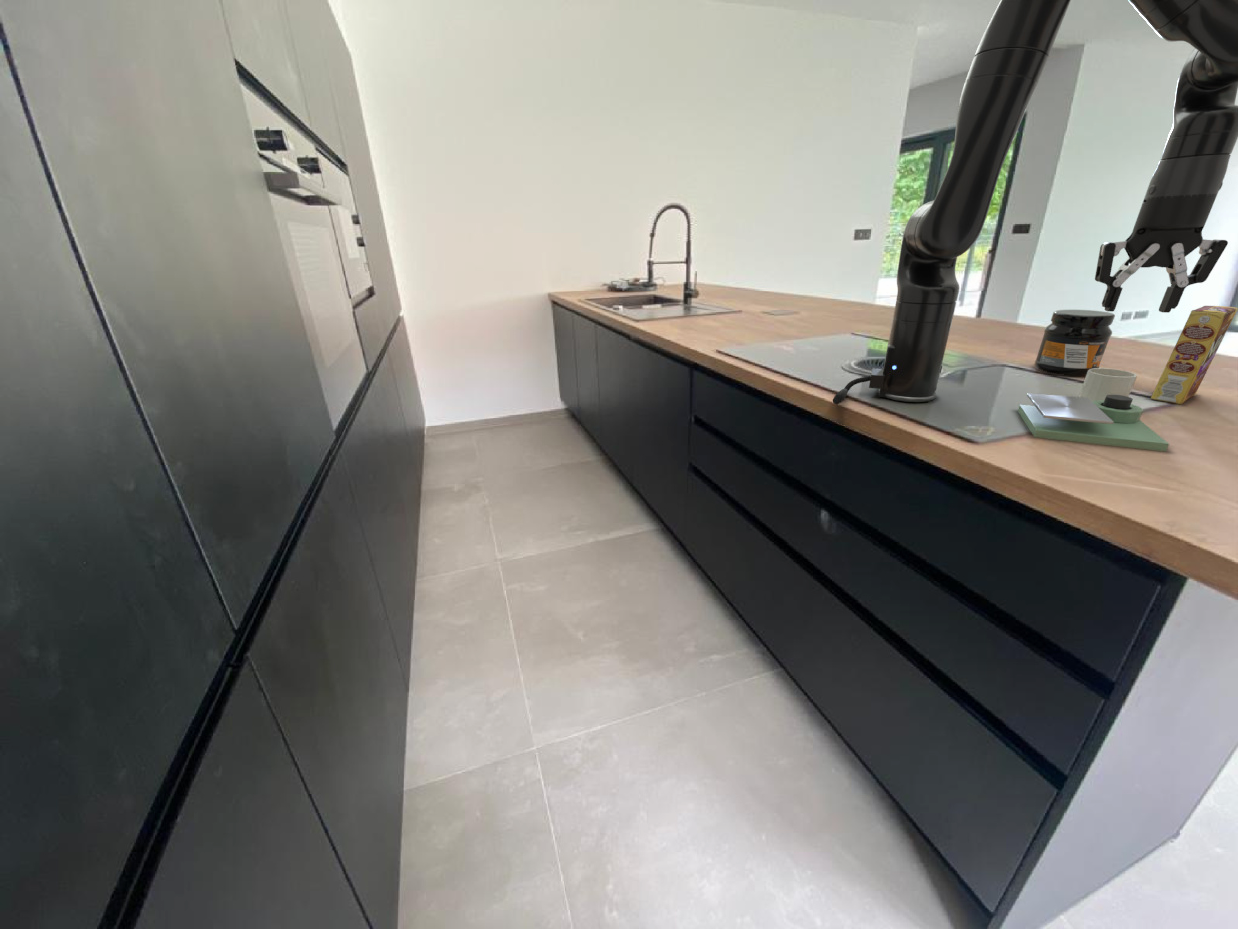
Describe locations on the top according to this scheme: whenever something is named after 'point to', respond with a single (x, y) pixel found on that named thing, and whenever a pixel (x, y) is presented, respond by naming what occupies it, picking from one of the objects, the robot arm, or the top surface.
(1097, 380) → the white cup
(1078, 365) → the supplement container
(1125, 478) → the top surface
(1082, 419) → the scale pan
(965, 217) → the robot arm
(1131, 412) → the scale
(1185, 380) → the candy box
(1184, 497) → the top surface
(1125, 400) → the tare button
